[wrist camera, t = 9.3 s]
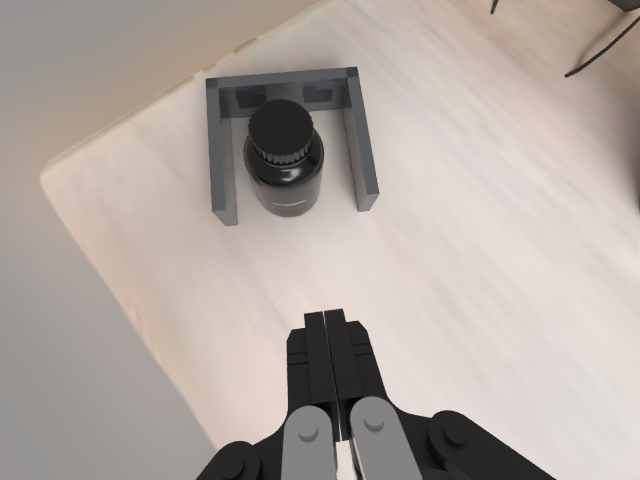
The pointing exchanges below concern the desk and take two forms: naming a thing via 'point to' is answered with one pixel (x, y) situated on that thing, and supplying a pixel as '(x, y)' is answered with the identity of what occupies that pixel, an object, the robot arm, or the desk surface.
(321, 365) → the robot arm
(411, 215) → the desk surface
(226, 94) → the bracket
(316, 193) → the supplement bottle
